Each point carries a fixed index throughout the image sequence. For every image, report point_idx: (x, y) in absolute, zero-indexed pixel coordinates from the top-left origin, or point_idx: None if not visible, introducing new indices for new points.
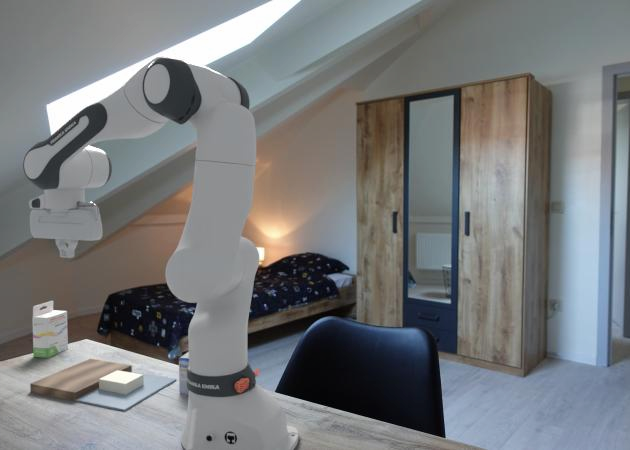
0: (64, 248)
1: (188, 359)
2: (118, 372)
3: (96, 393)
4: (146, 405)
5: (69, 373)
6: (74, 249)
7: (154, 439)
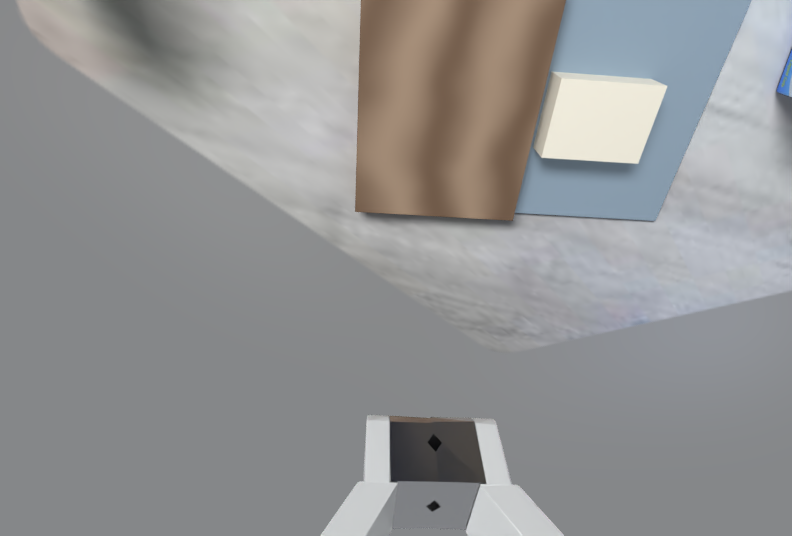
0: (386, 520)
1: None
2: (575, 94)
3: (541, 170)
4: (696, 180)
5: (402, 121)
6: (523, 497)
7: (752, 286)
